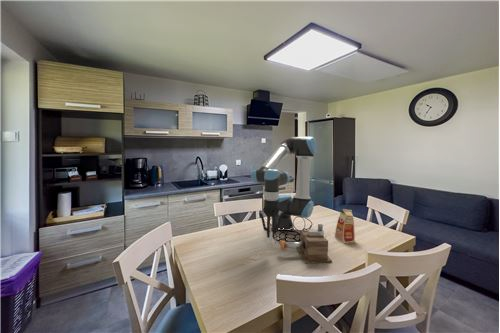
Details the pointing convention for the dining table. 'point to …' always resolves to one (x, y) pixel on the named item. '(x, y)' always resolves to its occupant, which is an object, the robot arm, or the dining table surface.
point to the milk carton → (345, 227)
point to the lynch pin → (291, 245)
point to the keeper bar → (316, 231)
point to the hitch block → (314, 249)
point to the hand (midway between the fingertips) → (270, 243)
